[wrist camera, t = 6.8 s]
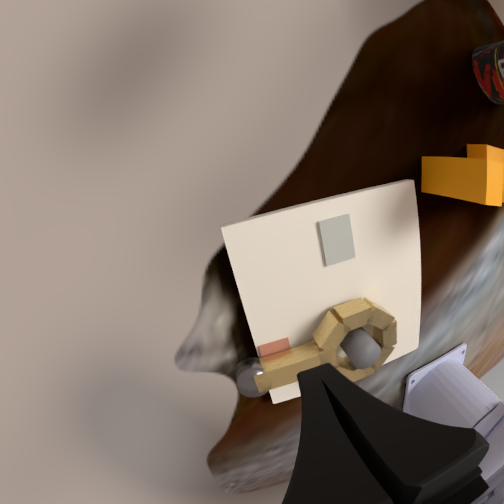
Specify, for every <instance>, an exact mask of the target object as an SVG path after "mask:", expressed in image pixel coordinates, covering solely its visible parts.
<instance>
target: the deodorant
mask: <svg viewBox="0 0 504 504" xmlns="http://www.w3.org/2000/svg"><path fill="white" fill-rule="evenodd" d="M472 66H473V70H474V73H475V76H476V79H477V81H478V83H479V85H480V87H481V89H482V91H483V92H484V94H485V95H486V96H487V98H488V99H489V100H490V101H491V102H493V103H495V104H504V41H500V42H496V43H492V44H489V45H485V46H482V47H478V48H475V49H474V50H473V53H472Z"/></svg>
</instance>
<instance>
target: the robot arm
mask: <svg viewBox="0 0 504 504" xmlns="http://www.w3.org/2000/svg"><path fill="white" fill-rule="evenodd" d="M466 348H467V345H466V344H465V343H463V344H461V345H459V346H458V347H456V348H455V349H453V350H451V351H450V352H448V353H446V354H445V355H443V356H441V357H440V358H438V359H436V360H434V361H433V362H431V363H429V364H427V365H425V366H424V367H422V368H420V369H418V370H416V371H414V372H412V373H411V374H409V376H408V378H407V384H406V392H405V399H404V405H403V411H401V410H399V409H396V408H394V407H392V406H390V405H388V404H386V403H384V402H383V401H381V400H379V399H377V398H376V397H374V396H372V395H371V394H369V393H368V392H366V391H365V390H363V389H362V388H360V387H359V386H358V385H356V384H355V383H353V382H352V381H351V380H349V379H348V378H347V377H346V376H344V375H343V374H342V373H341V372H340V371H338V370H337V369H336V368H335V367H334V366H333V365H332V364H330V363H325V364H322V365H319V366H316V367H314V368H310V369H307V370H304V371H301V372H299V373H298V374H297V375H296V376H297V380H298V384H299V389H300V394H301V398H302V421H301V434H300V442H299V448H298V453H297V458H296V462H295V466H294V470H293V474H292V477H291V480H290V483H289V486H288V489H287V492H286V494H285V497H284V499H283V502H282V504H504V402H503V401H501V400H500V399H499V398H498V397H497V396H496V395H495V394H494V393H493V392H492V391H491V390H490V389H488V387H486V386H485V385H484V384H483V383H482V382H481V381H480V380H479V379H478V378H477V377H476V376H474V375H473V374H472V373H471V372H470V371H469V370H468V369H467V368H466V367H464V366H463V362H464V357H465V353H466Z"/></svg>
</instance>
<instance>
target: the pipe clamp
mask: <svg viewBox="0 0 504 504" xmlns="http://www.w3.org/2000/svg"><path fill="white" fill-rule="evenodd" d="M421 192H425V193H431V194H436V195H442V196H447V197H452V198H457V199H461V200H466V201H471V202H475V203H480V204H484V205H492V206H501V205H502V202H504V150H503V149H499V148H496V147H492V146H489V145H484V144H467V158H459V157H427V156H422V187H421Z"/></svg>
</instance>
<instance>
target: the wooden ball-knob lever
mask: <svg viewBox="0 0 504 504" xmlns="http://www.w3.org/2000/svg"><path fill="white" fill-rule="evenodd" d="M333 310H334V312H331V311H328V312H327V314H326V315H325V317H324V318H323V320H322V321H321V323H320V324H319V326H318V327H317V329H316V330H315V331H314V333H313V334H312V336H313V339H311V342H309V343H306V344H303V345H300V346H297V347H294V348H291V349H288V350H285V351H282V352H279V353H275V354H272V355H269V356H266V357H262V358H256V357H250V358H246V359H244V360H242V361H240V362H239V363H238V364H237V366H236V369H235V373H236V381H237V388H238V391H239V392H240V393H241V394H242V395H244V396H247V397H259V396H262V395H264V394H266V393H267V392H268V391H269V390H272V389H275V388H278V387H282V386H285V385H288V384H291V383H294V382H297V381H298V380H297V376H296V375H297V374H298V373H299V372H301V371H304V370H307V369H310V368H314V367H316V366H319V365H322V364H325V363H330V364H332V365H333V366H334V367H335V368H336V369H337V370H338V371H340V372H341V373H342V374H343V375H344V376H346V377H347V378H348V379H349V380H351V381H352V382H355V381H357V380H359V379H362V378H364V377H366V376H369V375H371V374H373V373H375V369H378V370H379V369H380V367H381V366H382V365H383V363H384V362H385V361H386V359H387V358H388V357H389V355H390V354H391V353H392V351H393V350H394V349H395V347H394V346H393V345H395V344H397V321H396V320H395V317H394V316H393V315H391V314H390V313H389V312H388V311H387V310H386V309H384V308H383V307H381V306H380V305H378V304H376V303H374V302H372V301H371V300H369V299H367V298H365V297H364V299H362V298H361V297H359V298H356V299H354V300H351V301H348V302H345V303H343V304H340V305H337V306H335V307H333ZM366 324H371V325H373V336H372V338H373V340H374V341H375V342H376V343H377V344H378V345H379V346H380V348H381V354H380V357H379V359H378V360H377V361H376V363H375V364H373V365H372V366H371V367H369V368H366V369H357V368H356V367H355V366H354V365H353V363H352V362H351V361H350V359H349V358H348V357H347V358H341V357H339V356H336V348H337V347H338V346H339V344H340V343H341V342H342V340H343V339H344V337H345V336H346V335H347V333H348V332H349V331H351V330H354V329H356V328H359V327H361V326H364V325H366Z"/></svg>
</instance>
